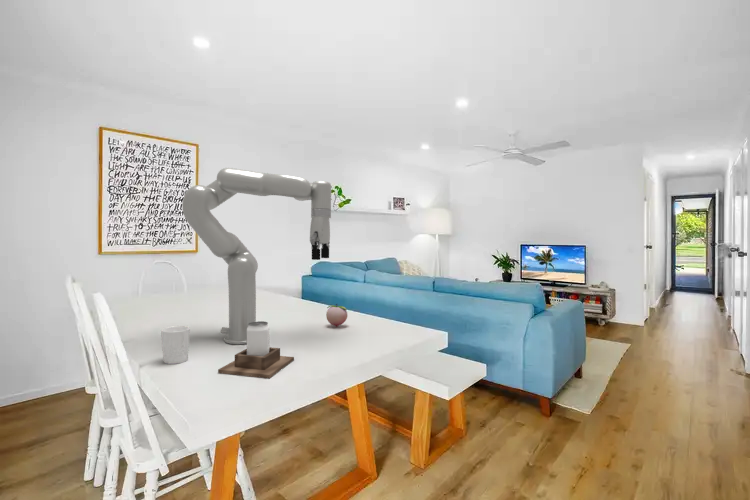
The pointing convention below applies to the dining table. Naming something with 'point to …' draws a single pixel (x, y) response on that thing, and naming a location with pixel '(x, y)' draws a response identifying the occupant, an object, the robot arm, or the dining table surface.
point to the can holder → (257, 364)
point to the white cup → (175, 344)
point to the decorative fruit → (336, 315)
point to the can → (258, 338)
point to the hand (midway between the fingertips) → (320, 258)
